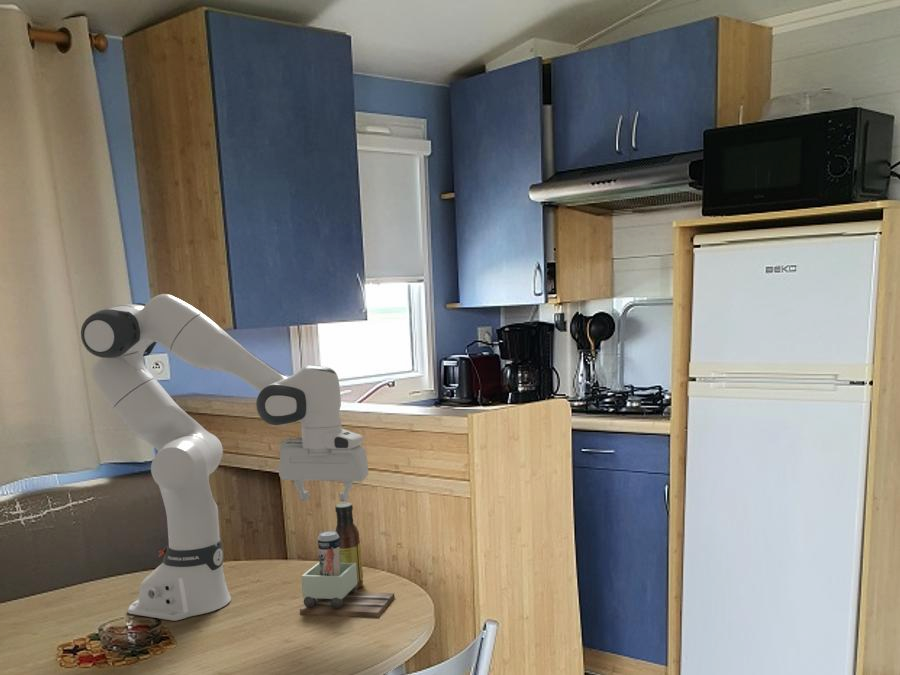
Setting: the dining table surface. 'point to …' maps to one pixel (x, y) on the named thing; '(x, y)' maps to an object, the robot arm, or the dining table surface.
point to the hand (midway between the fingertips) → (324, 500)
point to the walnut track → (352, 605)
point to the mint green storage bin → (329, 585)
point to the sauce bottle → (349, 539)
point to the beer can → (329, 554)
